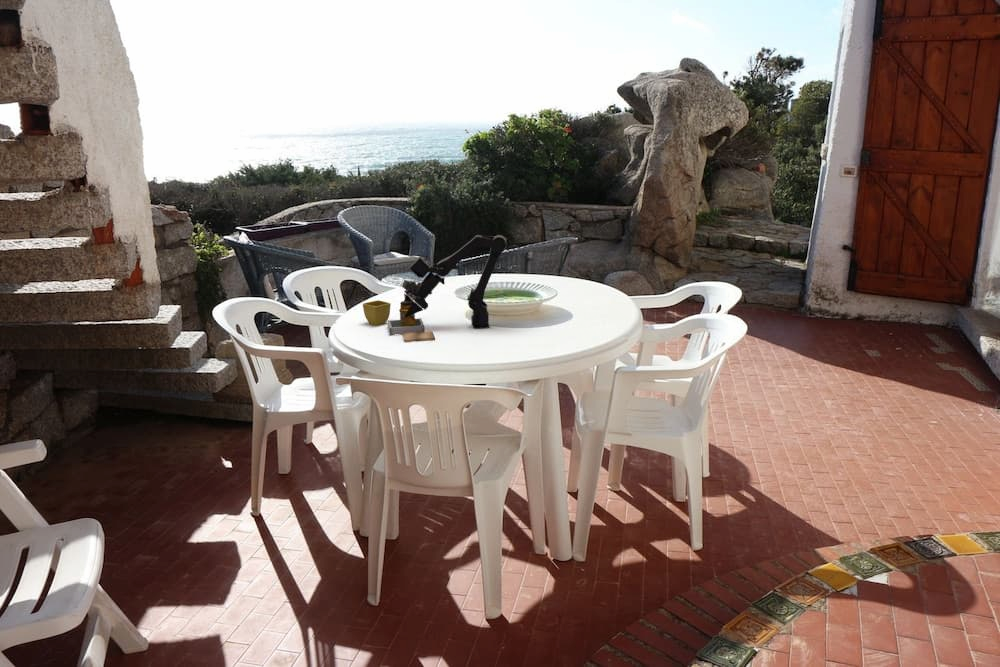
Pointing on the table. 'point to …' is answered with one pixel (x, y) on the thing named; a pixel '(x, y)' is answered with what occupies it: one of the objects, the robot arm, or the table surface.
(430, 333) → the walnut board
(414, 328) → the parts tub
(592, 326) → the table surface
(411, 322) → the condiment
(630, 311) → the table surface
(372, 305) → the flower pot
